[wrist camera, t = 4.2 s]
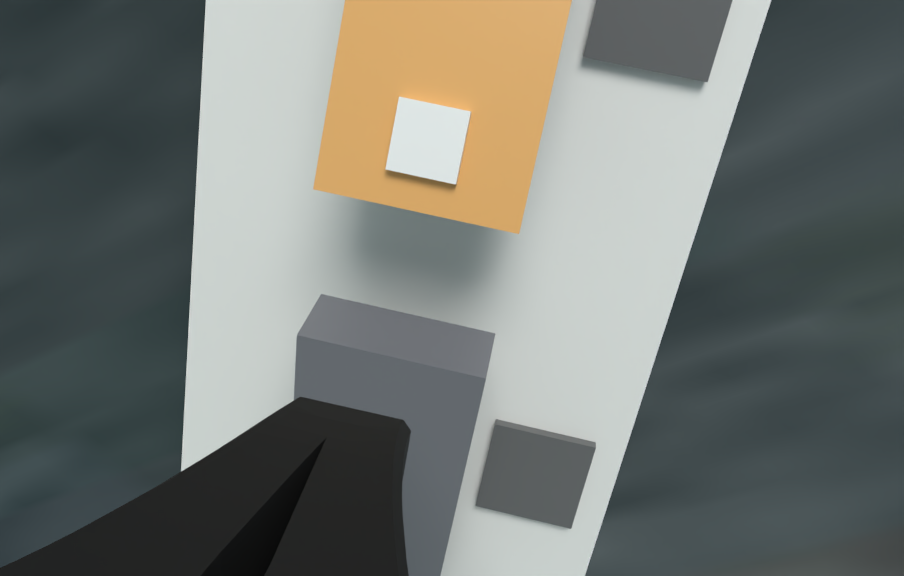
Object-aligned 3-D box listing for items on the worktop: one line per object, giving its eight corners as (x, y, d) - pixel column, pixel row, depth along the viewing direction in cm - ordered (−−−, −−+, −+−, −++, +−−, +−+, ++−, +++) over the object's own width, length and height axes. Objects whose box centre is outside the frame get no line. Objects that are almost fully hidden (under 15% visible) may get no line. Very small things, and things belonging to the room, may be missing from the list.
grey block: (495, 333, 12) (484, 384, 11) (436, 587, 16) (424, 645, 15) (321, 293, 13) (293, 340, 11) (303, 555, 16) (281, 608, 15)
